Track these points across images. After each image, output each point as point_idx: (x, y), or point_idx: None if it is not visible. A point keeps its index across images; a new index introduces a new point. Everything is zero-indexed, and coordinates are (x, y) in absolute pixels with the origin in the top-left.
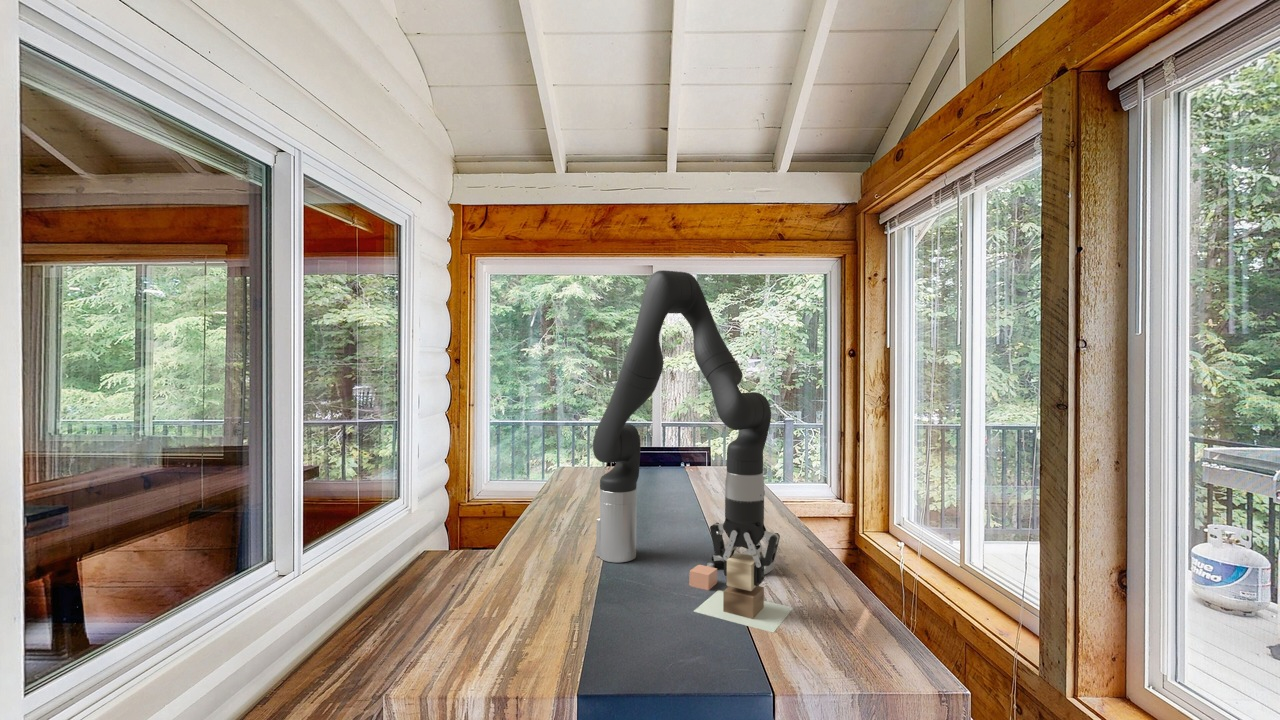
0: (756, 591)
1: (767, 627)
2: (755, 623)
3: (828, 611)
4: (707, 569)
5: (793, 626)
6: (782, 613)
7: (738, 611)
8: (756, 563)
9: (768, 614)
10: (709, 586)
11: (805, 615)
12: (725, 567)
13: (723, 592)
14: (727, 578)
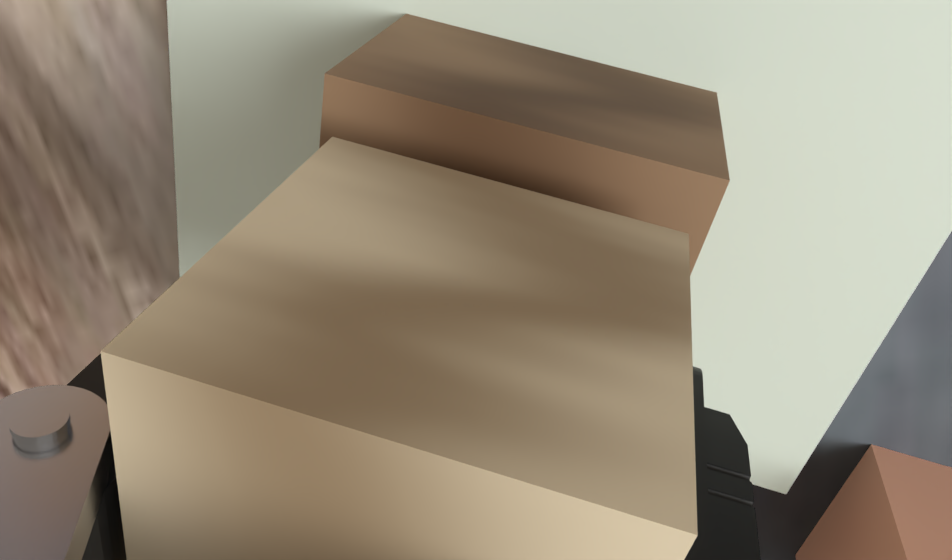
0: None
1: None
2: None
3: (45, 363)
4: None
5: (140, 97)
6: (216, 204)
7: (546, 62)
8: (61, 442)
9: (305, 154)
10: (878, 515)
11: (134, 285)
12: (726, 504)
13: (728, 172)
14: (674, 283)
